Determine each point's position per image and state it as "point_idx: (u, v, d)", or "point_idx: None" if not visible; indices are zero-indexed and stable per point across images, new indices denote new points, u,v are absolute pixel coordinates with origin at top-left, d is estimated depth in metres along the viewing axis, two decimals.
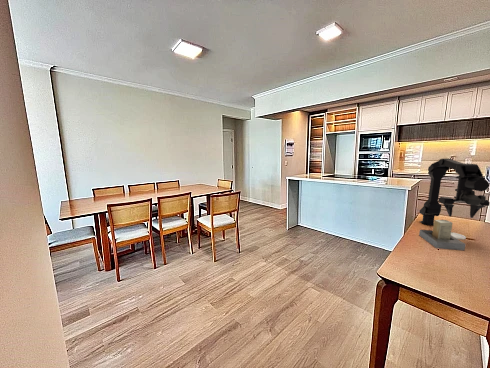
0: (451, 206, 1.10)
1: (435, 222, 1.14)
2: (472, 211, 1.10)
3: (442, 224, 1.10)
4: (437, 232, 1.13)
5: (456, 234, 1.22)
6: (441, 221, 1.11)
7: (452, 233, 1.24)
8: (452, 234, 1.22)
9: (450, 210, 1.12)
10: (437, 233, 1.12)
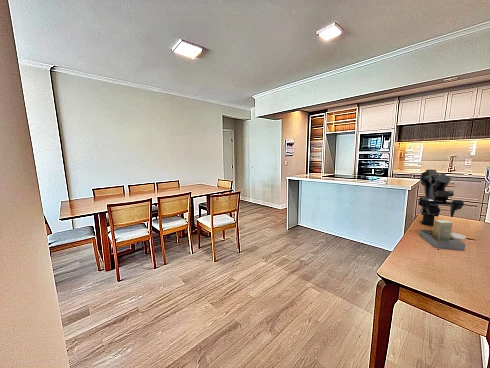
0: (427, 203, 1.21)
1: (435, 222, 1.14)
2: (451, 211, 1.16)
3: (442, 224, 1.10)
4: (437, 232, 1.13)
5: (456, 234, 1.22)
6: (441, 221, 1.11)
7: (452, 233, 1.24)
8: (452, 234, 1.22)
9: (428, 208, 1.21)
10: (437, 233, 1.12)
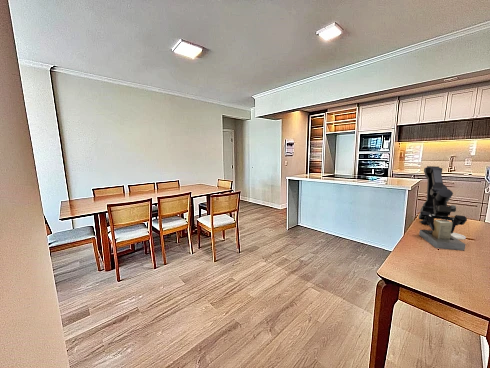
0: (430, 218, 1.16)
1: (435, 222, 1.14)
2: None
3: (442, 224, 1.10)
4: (437, 232, 1.13)
5: (456, 234, 1.22)
6: (441, 221, 1.11)
7: (452, 233, 1.24)
8: (452, 234, 1.22)
9: (431, 223, 1.15)
10: (437, 233, 1.12)
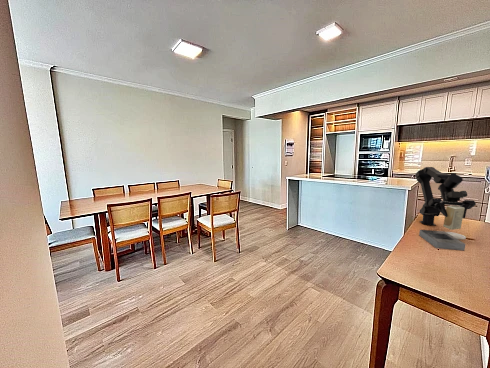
0: (442, 205, 1.16)
1: (448, 208, 1.14)
2: None
3: (456, 210, 1.11)
4: (450, 218, 1.13)
5: (456, 234, 1.22)
6: (454, 207, 1.12)
7: (452, 233, 1.24)
8: (452, 234, 1.22)
9: (444, 209, 1.15)
10: (451, 219, 1.13)
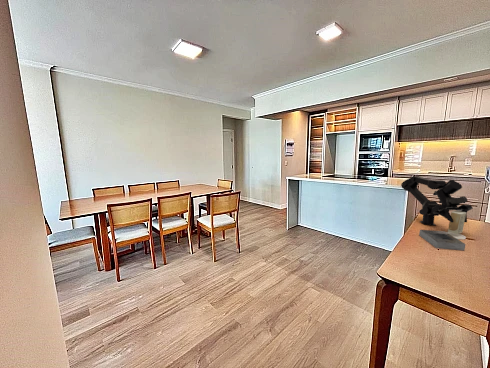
0: (447, 211, 1.21)
1: (453, 214, 1.19)
2: None
3: (461, 216, 1.17)
4: (456, 223, 1.18)
5: (456, 234, 1.22)
6: (459, 213, 1.18)
7: (452, 233, 1.24)
8: (452, 234, 1.22)
9: (449, 215, 1.20)
10: (456, 224, 1.18)
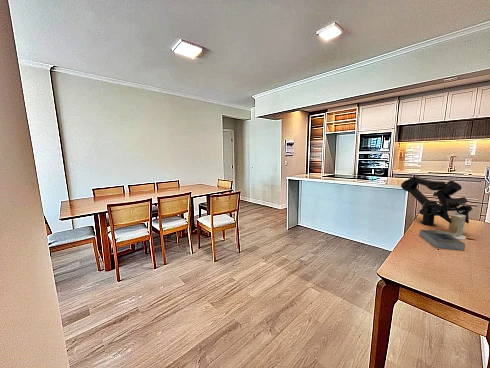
0: (446, 211, 1.21)
1: (453, 217, 1.19)
2: None
3: (461, 218, 1.17)
4: (455, 226, 1.18)
5: None
6: (459, 215, 1.18)
7: None
8: None
9: (447, 216, 1.20)
10: (456, 227, 1.18)
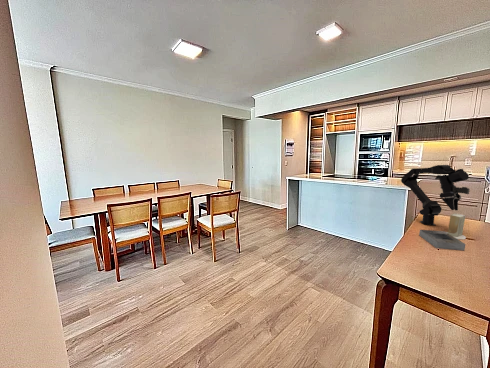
0: (454, 199, 1.20)
1: (452, 217, 1.19)
2: (455, 204, 1.27)
3: (460, 218, 1.17)
4: (455, 226, 1.19)
5: None
6: (458, 215, 1.18)
7: None
8: None
9: (453, 203, 1.21)
10: (456, 227, 1.18)
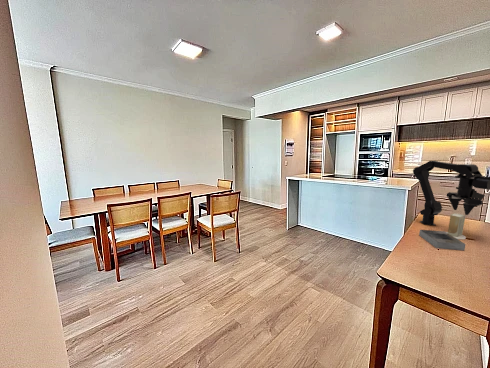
0: None
1: (452, 217, 1.19)
2: (456, 204, 1.27)
3: (460, 218, 1.17)
4: (455, 226, 1.19)
5: None
6: (458, 215, 1.18)
7: None
8: None
9: None
10: (456, 227, 1.18)
